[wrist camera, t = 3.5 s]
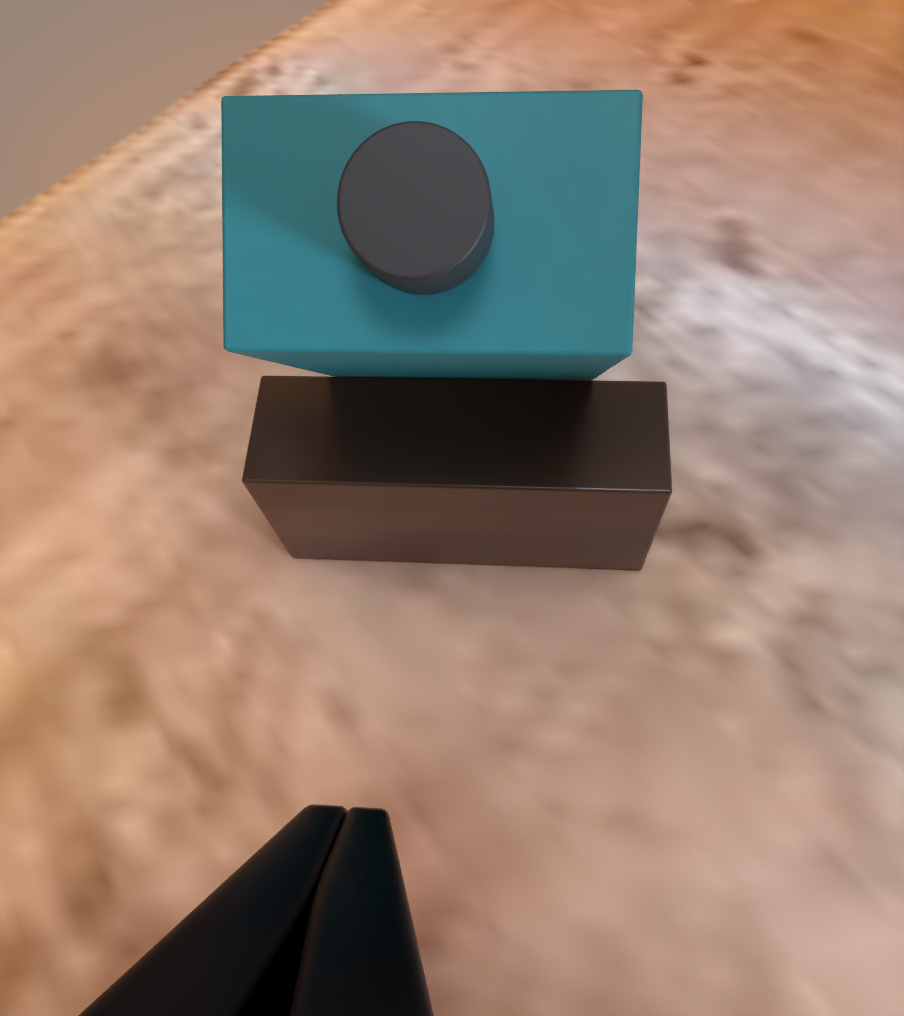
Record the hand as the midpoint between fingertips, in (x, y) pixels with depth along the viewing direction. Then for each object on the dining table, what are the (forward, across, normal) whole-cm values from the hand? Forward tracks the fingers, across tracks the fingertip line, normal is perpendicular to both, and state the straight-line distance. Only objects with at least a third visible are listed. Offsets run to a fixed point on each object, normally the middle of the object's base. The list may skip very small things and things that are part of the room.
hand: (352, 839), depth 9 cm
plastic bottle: (+18, 0, 0) cm, 18 cm away
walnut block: (+16, 0, +2) cm, 16 cm away
